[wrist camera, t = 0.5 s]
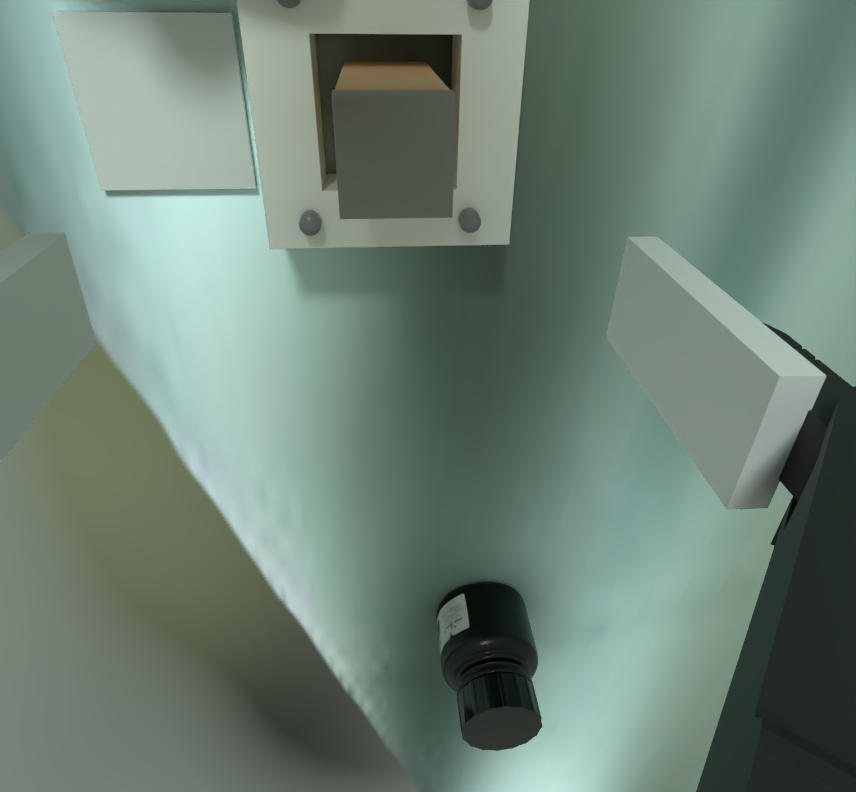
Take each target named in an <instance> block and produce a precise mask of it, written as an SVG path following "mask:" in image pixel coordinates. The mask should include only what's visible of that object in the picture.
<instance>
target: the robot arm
mask: <svg viewBox="0 0 856 792" xmlns="http://www.w3.org/2000/svg"><path fill="white" fill-rule="evenodd" d="M606 338H607V340H608V341H609V342H610V344H611V345H612V347H613V348H614V349H615V351H616V352H617V354H618V355H619V357H620V358H621V359H622V361H623V362H624V364H625V365H626V367H627V368H628V369H629V371H630V372H631V374H632V375H633V377H634V378H635V379H636V381H637V382H638V384H639V385H640V386H641V388H642V389H643V391H644V392H645V394H646V395H647V396H648V398H649V399H650V401H651V402H652V404H653V405H654V406H655V408H656V409H657V411H658V412H659V413H660V415H661V416H662V418H663V419H664V421H665V422H666V423H667V425H668V426H669V428H670V429H671V431H672V432H673V433H674V435H675V436H676V438H677V439H678V441H679V442H680V443H681V445H682V446H683V448H684V449H685V450H686V452H687V453H688V455H689V456H690V458H691V459H692V460H693V462H694V463H695V465H696V466H697V468H698V469H699V470H700V472H701V473H702V475H703V476H704V477H705V479H706V480H707V482H708V483H709V485H710V486H711V487H712V489H713V490H714V492H715V493H716V495H717V496H718V497H719V499H720V500H721V502H722V503H723V505H724V506H725V507H726V509H752V508H768V506H769V504H770V502H771V499H772V497H773V495H774V493H775V490H776V488H777V486H778V484H779V482H780V481H781V482H782V484H783V485H784V486H785V487H786V488H787V489H788V491H789V492H790V493H791V494H792V495H793V498H792V500H791V502H790V504H789V506H788V508H787V510H786V512H785V515H784V517H783V519H782V521H781V523H780V525H779V527H778V529H777V532H776V534H775V536H774V538H773V540H772V542H771V544H772V545H774V546H775V547H774V550H773V553H772V556H771V559H770V562H769V565H768V569H767V572H766V575H765V578H764V581H763V584H762V587H761V590H760V594H759V597H758V600H757V603H756V606H755V609H754V612H753V616H752V619H751V622H750V625H749V628H748V631H747V634H746V637H745V641H744V644H743V647H742V650H741V653H740V656H739V659H738V662H737V666H736V669H735V672H734V675H733V678H732V681H731V684H730V687H729V691H728V694H727V697H726V700H725V703H724V706H723V709H722V712H721V716H720V719H719V722H718V725H717V728H716V731H715V734H714V738H713V741H712V744H711V747H710V750H709V753H708V756H707V759H706V763H705V766H704V769H703V772H702V775H701V778H700V781H699V784H698V788H697V791H696V792H856V386H855V387H852V386H851V385H850V384H848V383H847V382H846V381H845V380H843V379H842V378H841V377H840V376H838V375H837V374H836V373H835V372H833V371H832V370H831V369H830V368H828V367H827V366H826V365H825V364H823V363H822V362H821V361H820V360H815V356H813V355H812V354H811V353H810V352H808V351H807V350H806V349H802V346H801V345H800V344H798V343H797V342H796V341H795V340H793V339H792V338H791V337H790V336H788V335H787V334H786V333H784V332H782V331H780V330H777V329H775V328H773V327H771V326H769V325H767V324H765V323H763V322H761V321H759V320H758V319H757V318H756V317H755V316H753V315H752V314H751V313H750V312H748V311H747V310H746V309H745V308H744V307H742V306H741V305H740V304H739V303H737V302H736V301H735V300H734V299H733V298H731V297H730V296H729V295H728V294H727V293H725V292H724V291H723V290H722V289H720V288H719V287H718V286H717V285H716V284H714V283H713V282H712V281H711V280H709V279H708V278H707V277H706V276H705V275H703V274H702V273H701V272H700V271H699V270H697V269H696V268H695V267H694V266H692V265H691V264H690V263H689V262H688V261H686V260H685V259H684V258H683V257H682V256H680V255H679V254H678V253H677V252H675V251H674V250H673V249H672V248H671V247H669V246H668V245H667V244H666V243H664V242H663V241H662V240H661V239H660V238H658V237H627V241H626V246H625V250H624V255H623V260H622V265H621V269H620V274H619V279H618V283H617V288H616V293H615V298H614V302H613V307H612V312H611V316H610V321H609V326H608V331H607V335H606ZM95 343H96V339H95V336H94V333H93V329H92V326H91V322H90V319H89V315H88V312H87V308H86V305H85V302H84V298H83V295H82V291H81V288H80V284H79V281H78V278H77V274H76V271H75V267H74V264H73V260H72V257H71V254H70V250H69V247H68V243H67V240H66V236H65V233H28V234H27V235H25V236H24V237H23V238H21V239H20V240H18V241H17V242H15V243H14V244H12V245H11V246H10V247H8V248H7V249H5V250H4V251H2V252H1V253H0V463H1V461H2V460H3V459H4V458H5V456H6V455H7V454H8V452H9V451H10V450H11V449H12V448H13V446H14V445H15V444H16V442H17V441H18V440H19V438H20V437H21V436H22V435H23V434H24V432H25V431H26V430H27V429H28V427H29V426H30V425H31V424H32V422H33V421H34V420H35V418H36V417H37V416H38V415H39V413H40V412H41V411H42V410H43V408H44V407H45V406H46V405H47V403H48V402H49V401H50V400H51V398H52V397H53V396H54V395H55V393H56V392H57V391H58V389H59V388H60V387H61V386H62V384H63V383H64V382H65V380H66V379H67V378H68V377H69V376H70V374H71V373H72V372H73V370H74V369H75V368H76V366H77V365H78V364H79V363H80V362H81V360H82V359H83V358H84V357H85V355H86V354H87V353H88V352H89V350H90V349H91V348H92V346H93V345H94V344H95Z"/></svg>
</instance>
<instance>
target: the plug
mask: <svg viewBox="0 0 856 792" xmlns="http://www.w3.org/2000/svg"><path fill="white" fill-rule="evenodd" d="M331 99H332V113H333V128H334V142H335V156H336V171H337V185H338V200H339V214H340V219H391V218H452V214H453V182H454V150H455V118H456V93H455V92H454V91H453V90H450V89H449V88H448V87H447V86H446V85H445V84H444V82H443V81H442V80H441V79H440V78H439V77H438V76H437V74H436V73H435V72H434V71H433V70H432V69H431V68H430V66H429V65H428V64H427V63H426V62H405V61H344V64H343V67H342V70H341V73H340V76H339V79H338V82H337V84H336V87H335V90H332V93H331Z"/></svg>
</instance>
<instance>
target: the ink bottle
mask: <svg viewBox="0 0 856 792" xmlns="http://www.w3.org/2000/svg"><path fill="white" fill-rule="evenodd" d="M436 620H437V630H438V639H439V648H440V657H441V666H442V672H443V676H444V678H445V680H446V682H447V684H448V685H449V686H450V687H451V688H452V689H453V690H455V691H456V692H457V703H458V710H459V718H460V726H461V732H462V737H463V740H464V741H466V742H467V743H468V744H469V745H470V746H472V747H476V748H479V749H482V750H496V751H498V750H503V749H509V748H514V747H516V746H519V745H521V744H524V743H527V742H528V741H529V740H531V739H532V738H533V737H535V736H536V735H537V734H538V732H539V730H540V728H542V723H541V715H540V711H539V706H538V702H537V698H536V694H535V690H534V686H533V683H532V680H531V678H532V677H533V676H534V674H535V672H536V669H537V665H538V655H537V650H536V646H535V642H534V638H533V634H532V631H531V627H530V623H529V619H528V615H527V611H526V607H525V604H524V601H523V599H522V597H521V595H520V594H519V593H518V592H517V591H516V590H515V589H513V588H512V587H510V586H508V585H505V584H501V583H494V582H482V583H474V584H469V585H466V586H463V587H460V588H458V589H455V590H454V591H452V592H450V593H449V594H448V595H447V596H446V597H445V598H444V599H443V600H442V601H441V603H440V605H439V607H438V610H437V615H436Z"/></svg>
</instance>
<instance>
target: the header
mask: <svg viewBox="0 0 856 792" xmlns="http://www.w3.org/2000/svg"><path fill="white" fill-rule="evenodd" d="M236 1H237V9H238V16H239V24H240V31H241V38H242V46H243V53H244V61H245V68H246V75H247V83H248V90H249V98H250V105H251V113H252V120H253V127H254V135H255V142H256V150H257V157H258V164H259V172H260V179H261V187H262V194H263V201H264V209H265V216H266V224H267V231H268V238H269V246H270V249H298V248H351V247H403V246H456V245H508V244H509V240H510V228H511V216H512V204H513V192H514V180H515V168H516V156H517V144H518V132H519V120H520V108H521V96H522V84H523V72H524V61H525V49H526V37H527V25H528V13H529V1H530V0H236ZM315 34H451V35H453V36H452V73H451V90H453V91H454V92H455V93H456V118H455V150H454V182H453V214H452V218H391V219H340V214H339V200H338V185H337V173H326V167H325V154H324V141H323V129H322V116H321V103H320V90H319V77H318V65H317V52H316V39H315Z"/></svg>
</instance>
